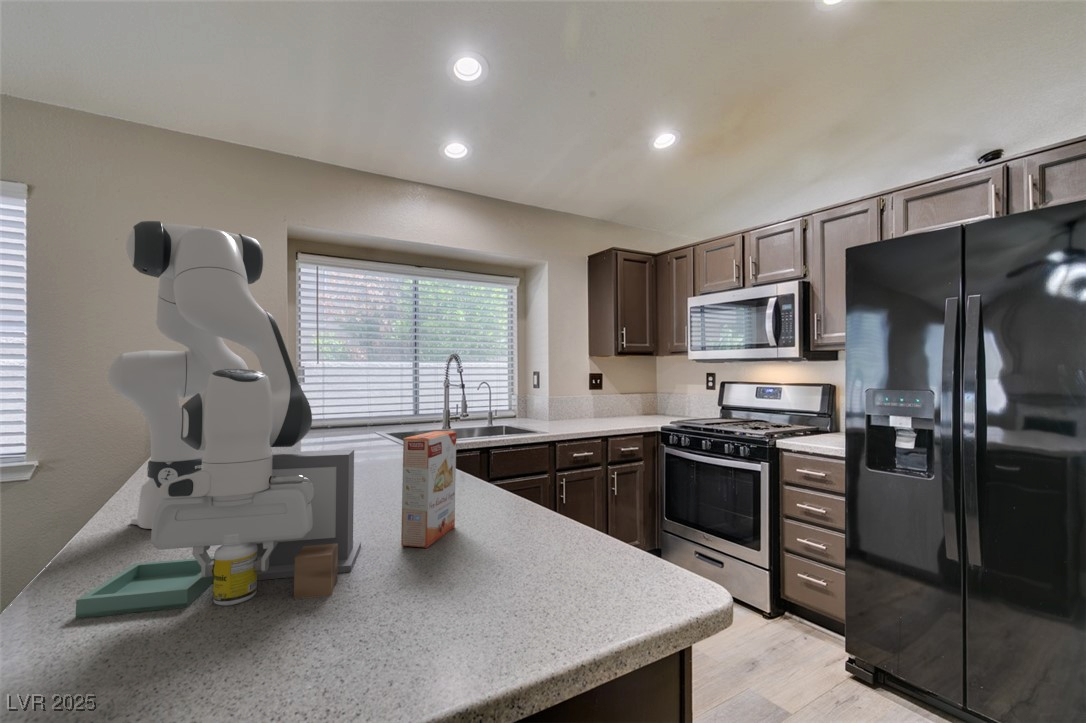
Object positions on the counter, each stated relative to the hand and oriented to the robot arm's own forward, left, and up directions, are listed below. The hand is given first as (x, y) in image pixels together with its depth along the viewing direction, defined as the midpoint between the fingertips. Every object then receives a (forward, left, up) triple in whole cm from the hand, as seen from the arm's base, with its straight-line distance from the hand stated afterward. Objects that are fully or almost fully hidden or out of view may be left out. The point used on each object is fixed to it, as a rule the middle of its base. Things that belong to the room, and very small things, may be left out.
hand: (235, 572), depth 69 cm
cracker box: (-21, +28, -4) cm, 35 cm away
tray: (-5, -12, -4) cm, 13 cm away
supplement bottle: (0, 0, -4) cm, 4 cm away
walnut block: (0, +11, -4) cm, 12 cm away
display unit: (-12, +5, -4) cm, 13 cm away
